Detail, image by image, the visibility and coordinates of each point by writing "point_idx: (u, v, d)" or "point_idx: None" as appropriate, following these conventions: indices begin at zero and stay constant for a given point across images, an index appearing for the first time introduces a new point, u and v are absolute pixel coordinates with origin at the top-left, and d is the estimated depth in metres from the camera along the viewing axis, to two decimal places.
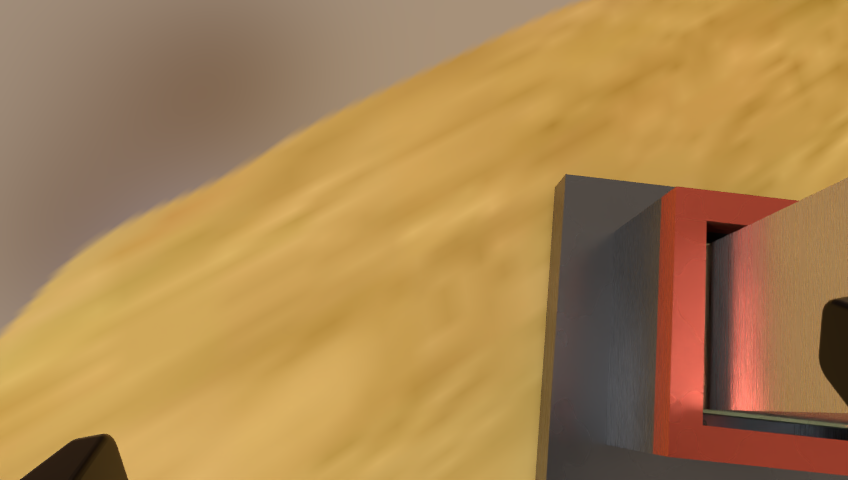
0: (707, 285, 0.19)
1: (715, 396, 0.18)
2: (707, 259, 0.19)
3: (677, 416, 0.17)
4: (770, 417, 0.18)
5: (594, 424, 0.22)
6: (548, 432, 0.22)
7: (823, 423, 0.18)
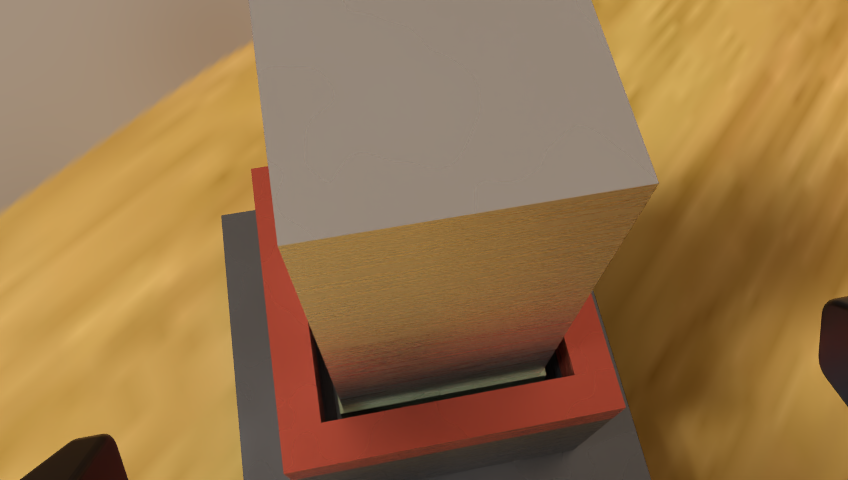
0: None
1: None
2: None
3: (288, 421, 0.14)
4: (428, 394, 0.15)
5: None
6: None
7: (492, 382, 0.15)
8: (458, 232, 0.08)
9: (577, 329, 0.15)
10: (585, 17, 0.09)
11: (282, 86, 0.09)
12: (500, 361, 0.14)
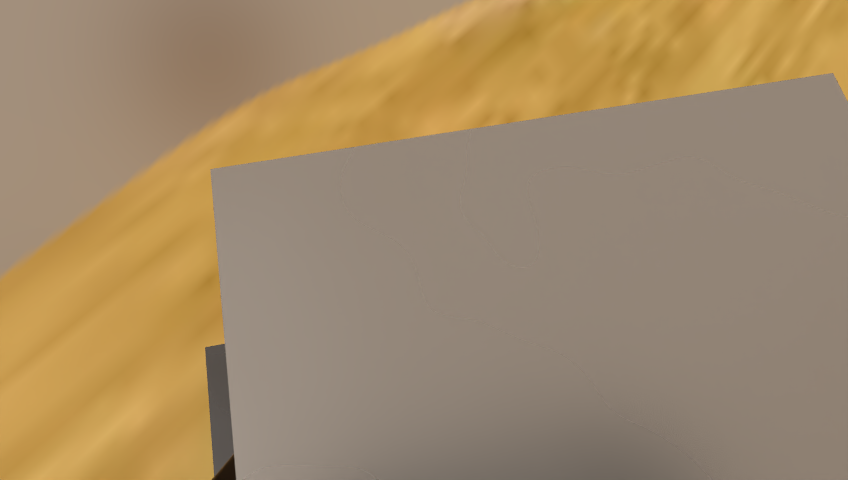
0: None
1: None
2: None
3: None
4: None
5: None
6: None
7: None
8: None
9: None
10: None
11: None
12: None
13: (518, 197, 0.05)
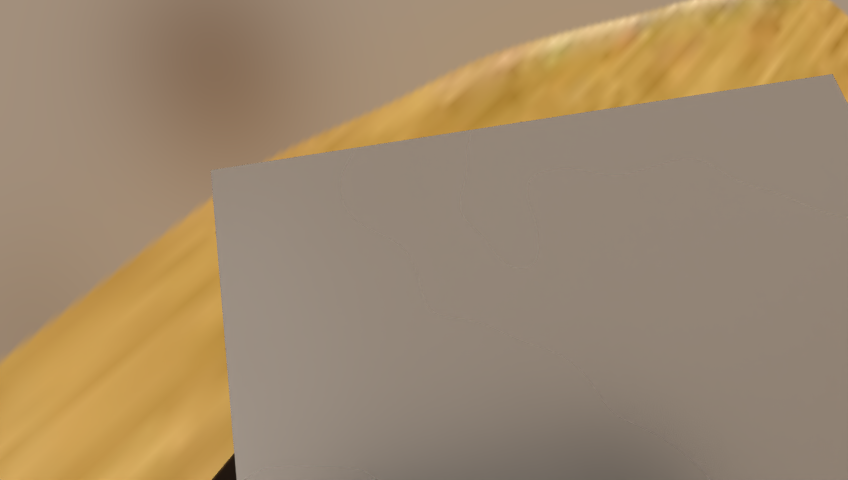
0: None
1: None
2: None
3: None
4: None
5: None
6: None
7: None
8: None
9: None
10: None
11: None
12: None
13: (518, 198, 0.05)
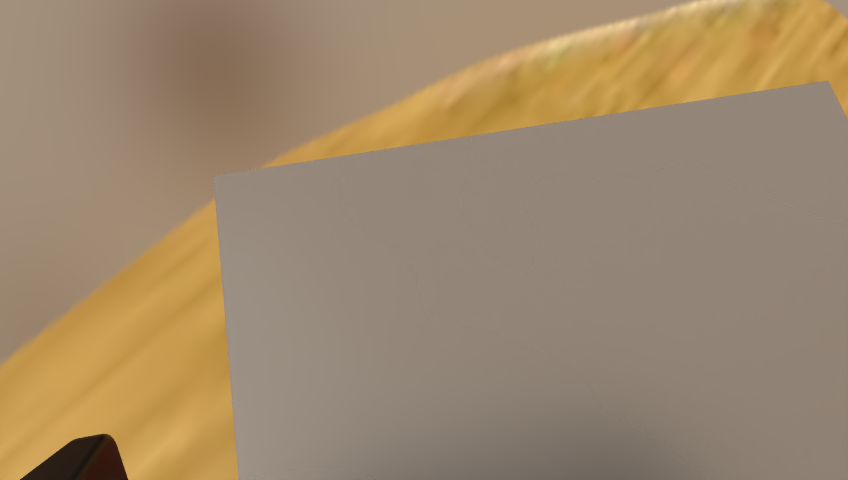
0: None
1: None
2: None
3: None
4: None
5: None
6: None
7: None
8: None
9: None
10: None
11: None
12: None
13: (517, 203, 0.05)
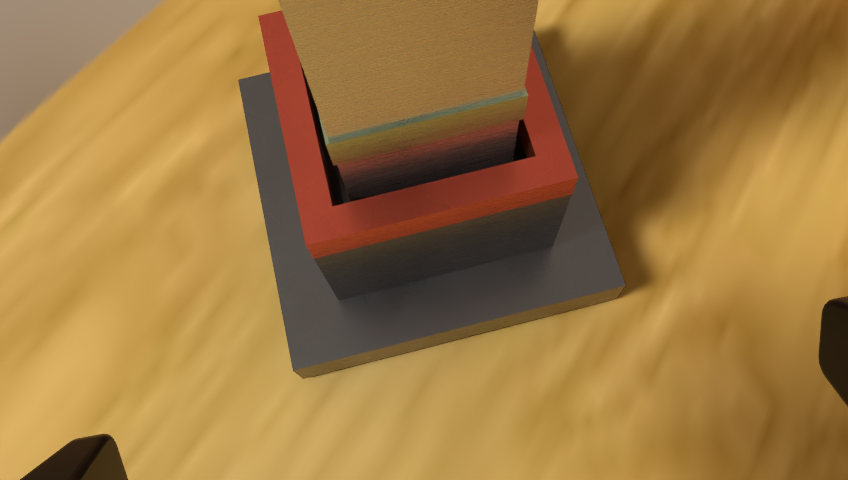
0: None
1: None
2: None
3: (306, 207, 0.17)
4: (411, 121, 0.15)
5: (323, 286, 0.22)
6: (282, 310, 0.22)
7: (474, 106, 0.15)
8: None
9: (537, 121, 0.18)
10: None
11: None
12: (476, 64, 0.14)
13: None
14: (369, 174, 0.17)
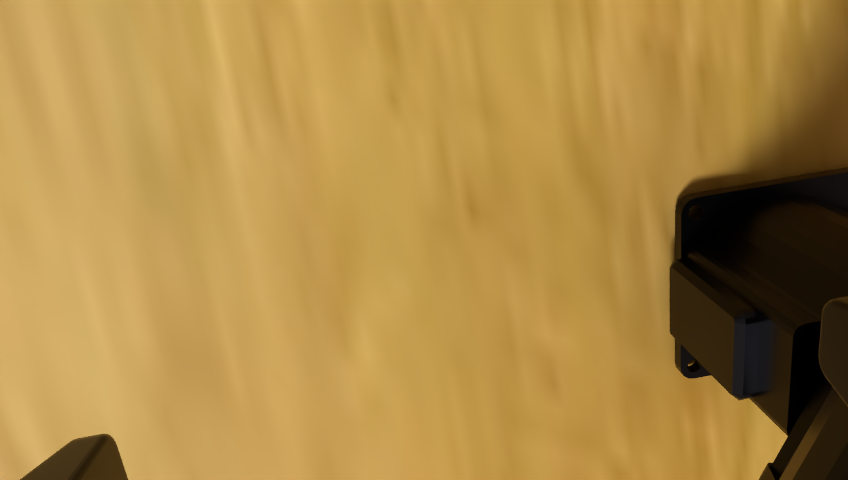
0: None
1: None
2: None
3: None
4: None
5: None
6: None
7: None
8: None
9: None
10: None
11: None
12: None
13: None
14: None
